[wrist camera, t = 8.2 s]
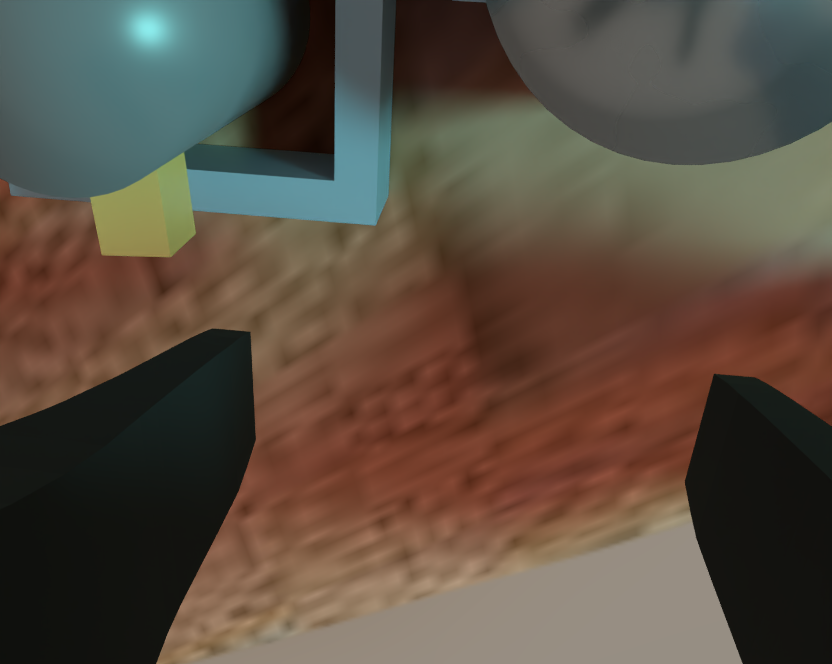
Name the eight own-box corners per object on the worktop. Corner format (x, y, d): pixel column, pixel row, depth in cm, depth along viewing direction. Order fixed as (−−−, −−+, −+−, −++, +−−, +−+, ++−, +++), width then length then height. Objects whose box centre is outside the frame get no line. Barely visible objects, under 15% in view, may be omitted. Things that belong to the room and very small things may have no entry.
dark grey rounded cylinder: (302, -105, 17) (170, -150, 10) (320, 176, 20) (226, 297, 13) (100, -103, 17) (-167, -143, 10) (146, 173, 20) (-38, 288, 13)
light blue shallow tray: (404, -214, 16) (391, -242, 14) (388, 195, 20) (375, 225, 18) (-2, -235, 16) (-78, -265, 14) (63, 169, 21) (10, 195, 18)
